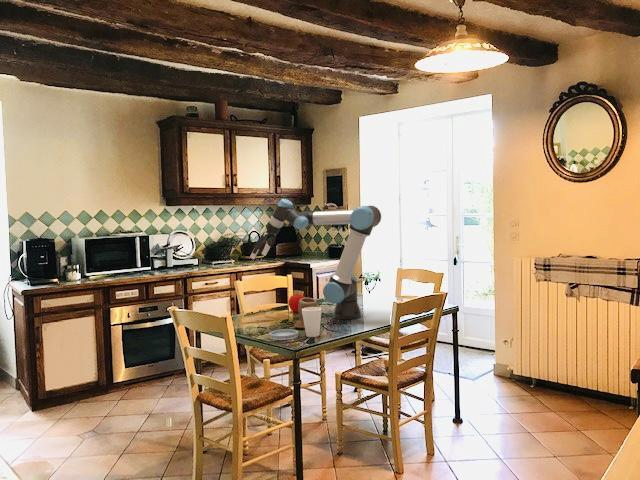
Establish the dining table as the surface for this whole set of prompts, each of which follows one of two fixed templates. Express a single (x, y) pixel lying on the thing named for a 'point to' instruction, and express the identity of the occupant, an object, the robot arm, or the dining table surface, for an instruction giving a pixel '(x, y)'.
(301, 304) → the stone cup
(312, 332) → the foam cup
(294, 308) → the tomato
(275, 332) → the saucer
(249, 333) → the dining table surface
